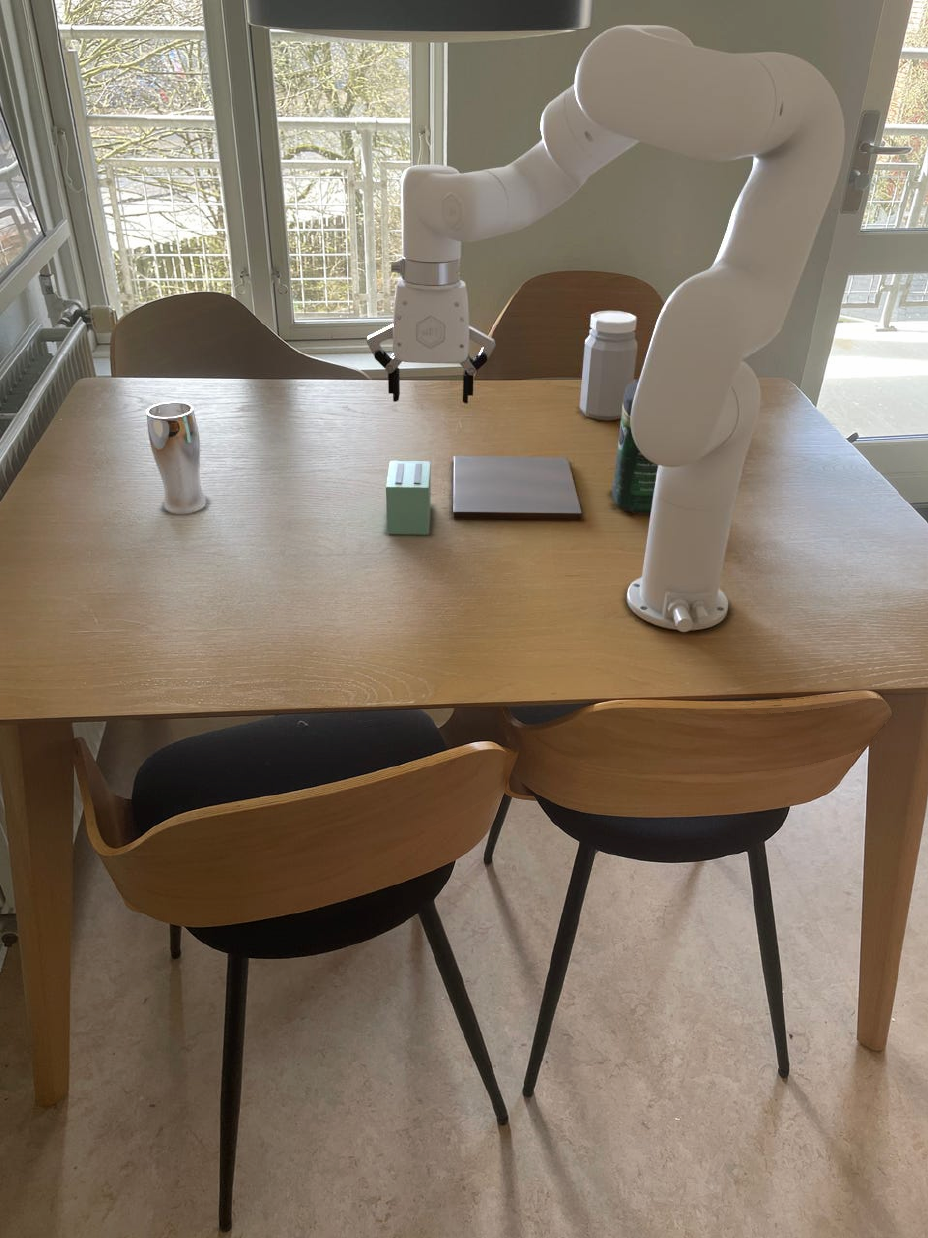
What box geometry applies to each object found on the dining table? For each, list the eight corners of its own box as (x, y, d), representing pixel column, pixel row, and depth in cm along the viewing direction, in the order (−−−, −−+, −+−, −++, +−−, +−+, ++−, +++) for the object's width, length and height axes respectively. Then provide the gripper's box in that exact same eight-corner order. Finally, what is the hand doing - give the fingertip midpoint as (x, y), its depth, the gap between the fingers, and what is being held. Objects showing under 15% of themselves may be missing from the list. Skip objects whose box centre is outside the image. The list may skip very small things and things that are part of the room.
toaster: (429, 534, 133) (428, 486, 129) (387, 534, 133) (385, 486, 129) (430, 503, 142) (430, 457, 138) (391, 502, 142) (390, 456, 138)
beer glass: (218, 505, 140) (204, 409, 132) (178, 520, 136) (161, 422, 127) (192, 491, 144) (177, 397, 136) (152, 505, 139) (134, 409, 131)
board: (581, 520, 138) (581, 513, 137) (453, 518, 137) (453, 511, 137) (567, 463, 155) (567, 457, 155) (453, 462, 155) (454, 455, 154)
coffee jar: (668, 516, 139) (686, 396, 129) (615, 515, 139) (630, 395, 129) (658, 489, 147) (675, 374, 137) (608, 488, 147) (621, 373, 137)
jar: (573, 404, 179) (581, 309, 170) (622, 403, 180) (633, 308, 171) (584, 422, 171) (593, 324, 162) (636, 421, 172) (647, 323, 163)
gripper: (361, 276, 117) (366, 407, 126) (498, 280, 117) (493, 410, 126) (367, 263, 123) (371, 388, 132) (497, 266, 123) (492, 391, 132)
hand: (430, 399), depth 129 cm, fingers open, 9 cm apart
